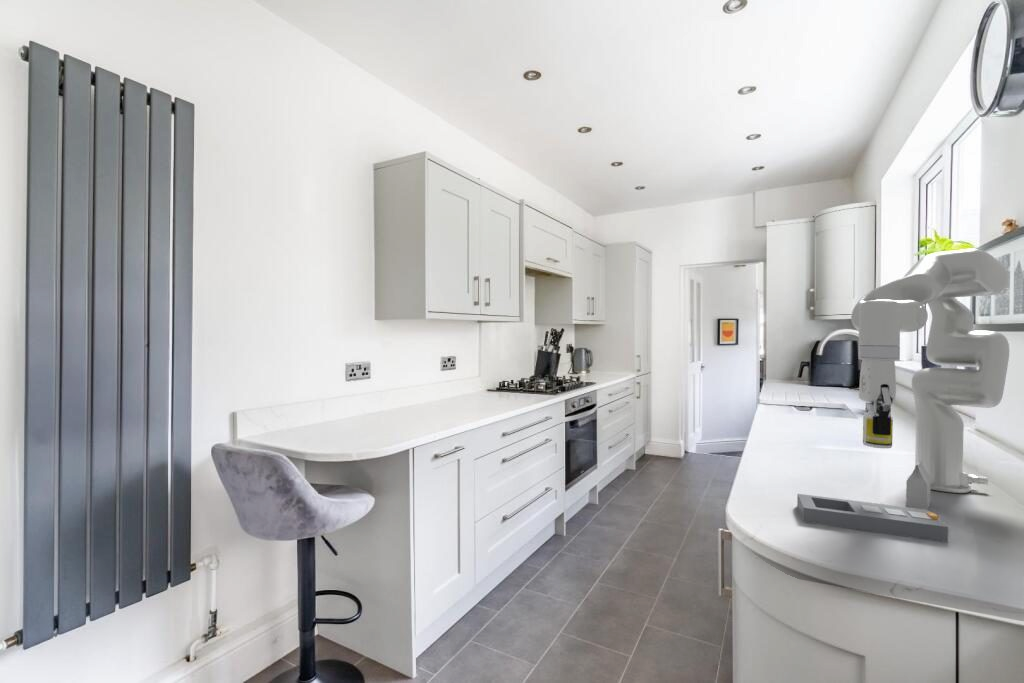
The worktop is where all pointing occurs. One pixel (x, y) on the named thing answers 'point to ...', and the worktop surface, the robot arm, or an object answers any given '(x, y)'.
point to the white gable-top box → (918, 488)
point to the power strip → (872, 517)
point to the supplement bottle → (868, 435)
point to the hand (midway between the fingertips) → (877, 431)
